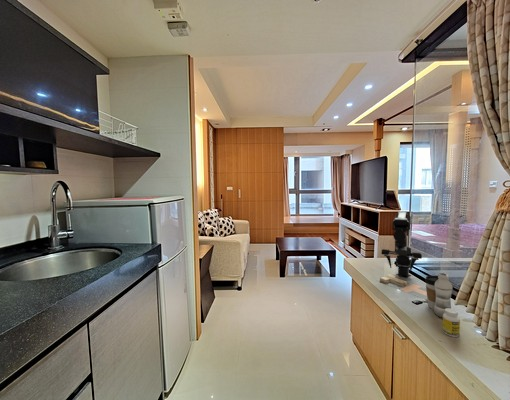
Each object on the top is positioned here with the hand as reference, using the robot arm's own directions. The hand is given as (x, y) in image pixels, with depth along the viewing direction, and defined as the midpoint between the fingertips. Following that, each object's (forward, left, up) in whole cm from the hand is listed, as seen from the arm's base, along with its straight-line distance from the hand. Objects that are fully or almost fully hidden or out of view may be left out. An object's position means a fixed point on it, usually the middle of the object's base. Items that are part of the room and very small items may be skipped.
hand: (400, 269), depth 128 cm
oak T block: (-13, -11, -14) cm, 22 cm away
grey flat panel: (-13, -4, -15) cm, 20 cm away
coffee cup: (-3, +16, -15) cm, 22 cm away
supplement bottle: (+14, +30, -15) cm, 36 cm away
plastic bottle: (+3, +22, -15) cm, 27 cm away
